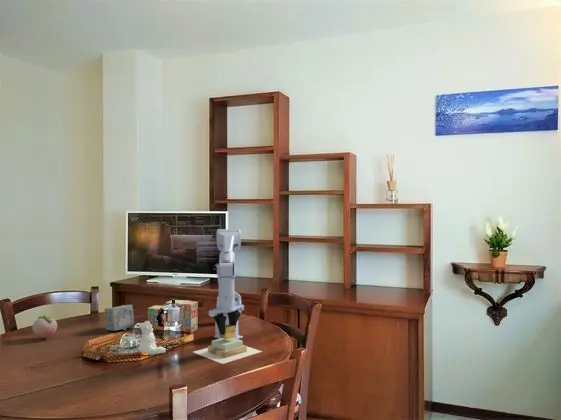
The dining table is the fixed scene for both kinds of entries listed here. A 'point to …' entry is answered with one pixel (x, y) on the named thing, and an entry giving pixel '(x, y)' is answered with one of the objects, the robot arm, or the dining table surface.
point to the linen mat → (224, 360)
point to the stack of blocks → (188, 314)
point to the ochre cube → (228, 332)
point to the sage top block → (227, 343)
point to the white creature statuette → (149, 340)
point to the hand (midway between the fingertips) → (227, 332)
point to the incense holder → (119, 317)
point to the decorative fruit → (44, 327)
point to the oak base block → (227, 353)
